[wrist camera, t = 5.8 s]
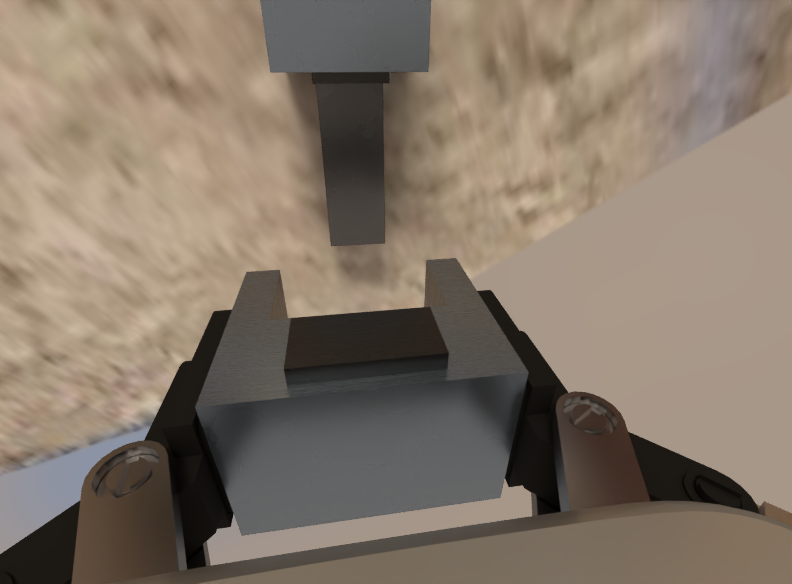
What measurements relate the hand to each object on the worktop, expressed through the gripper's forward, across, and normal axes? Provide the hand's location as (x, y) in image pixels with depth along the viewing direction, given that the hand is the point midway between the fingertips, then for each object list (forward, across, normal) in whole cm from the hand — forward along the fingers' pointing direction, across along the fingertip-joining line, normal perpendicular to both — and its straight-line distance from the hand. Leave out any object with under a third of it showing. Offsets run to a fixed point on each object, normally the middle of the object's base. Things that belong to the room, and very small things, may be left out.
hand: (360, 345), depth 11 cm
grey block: (+1, 0, 0) cm, 1 cm away
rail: (+13, -1, -4) cm, 14 cm away
